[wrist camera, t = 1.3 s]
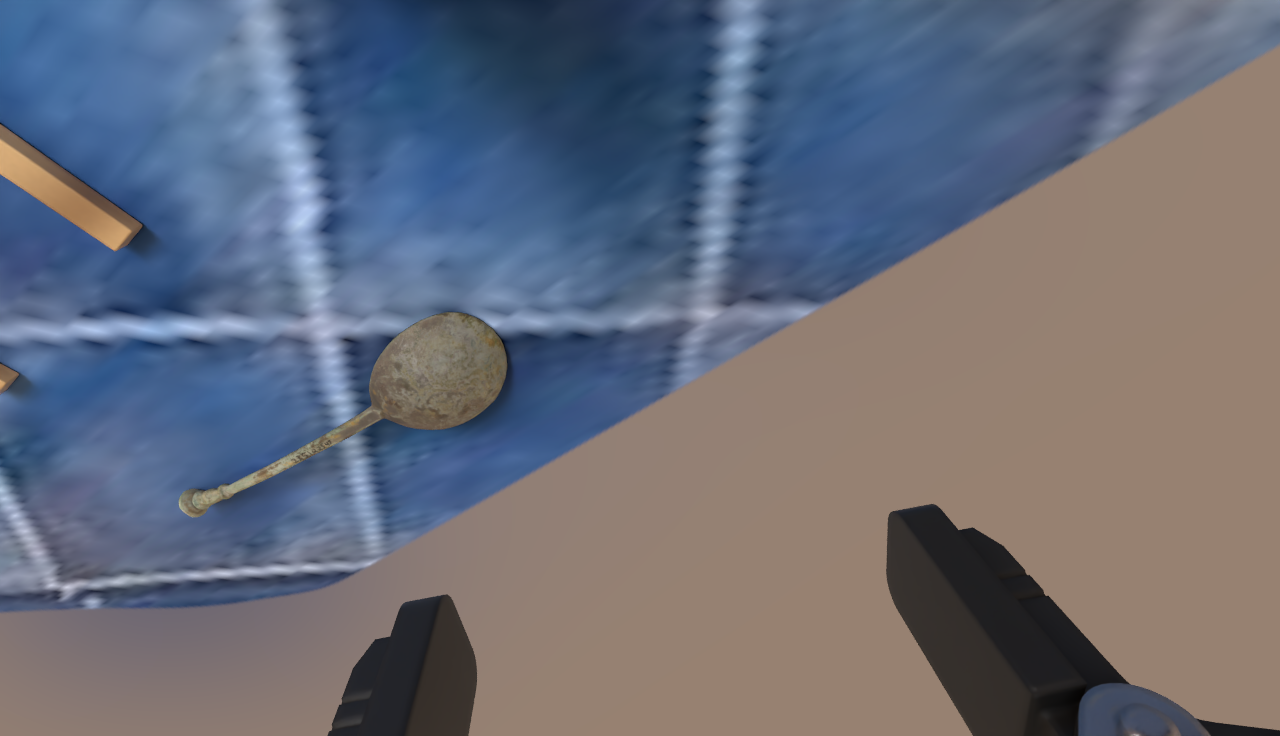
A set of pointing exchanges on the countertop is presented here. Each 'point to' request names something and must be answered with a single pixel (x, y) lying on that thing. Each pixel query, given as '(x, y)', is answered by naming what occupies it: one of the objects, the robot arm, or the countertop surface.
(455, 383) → the soupspoon
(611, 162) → the countertop surface
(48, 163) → the parallel wooden strips
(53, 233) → the countertop surface
